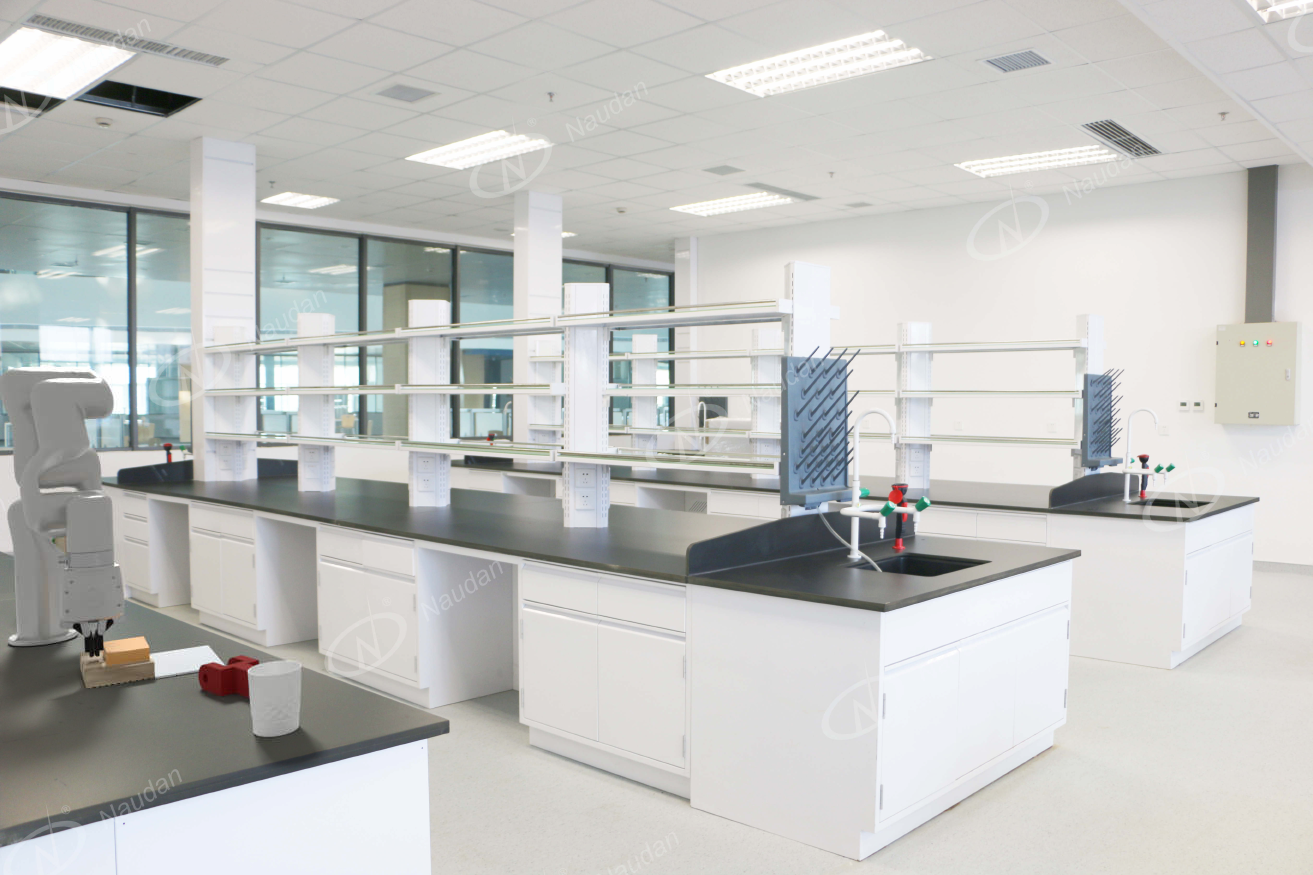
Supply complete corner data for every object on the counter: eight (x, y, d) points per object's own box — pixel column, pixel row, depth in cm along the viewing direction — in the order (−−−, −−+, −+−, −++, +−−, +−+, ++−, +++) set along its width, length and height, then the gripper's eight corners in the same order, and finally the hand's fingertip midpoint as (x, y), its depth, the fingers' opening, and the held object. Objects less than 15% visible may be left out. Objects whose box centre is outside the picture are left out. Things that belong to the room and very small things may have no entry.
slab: (102, 653, 176) (102, 641, 176) (143, 647, 180) (143, 636, 180) (107, 665, 168) (106, 653, 168) (149, 658, 172) (149, 647, 172)
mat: (143, 656, 184) (143, 654, 184) (208, 646, 191) (208, 645, 191) (155, 678, 169) (155, 676, 169) (225, 667, 176) (225, 665, 176)
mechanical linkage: (198, 689, 164) (197, 662, 164) (236, 679, 170) (235, 653, 169) (245, 706, 154) (244, 678, 154) (284, 695, 160) (283, 667, 160)
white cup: (313, 723, 145) (312, 662, 145) (278, 741, 138) (276, 677, 138) (274, 718, 148) (272, 658, 148) (237, 735, 141) (236, 672, 140)
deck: (80, 667, 176) (79, 652, 176) (144, 657, 183) (143, 643, 183) (86, 688, 163) (85, 672, 163) (154, 677, 170) (154, 661, 170)
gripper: (43, 567, 163) (47, 667, 163) (138, 558, 171) (141, 653, 172) (42, 561, 169) (46, 657, 170) (134, 552, 177) (137, 644, 178)
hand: (94, 655), depth 171 cm, fingers closed
